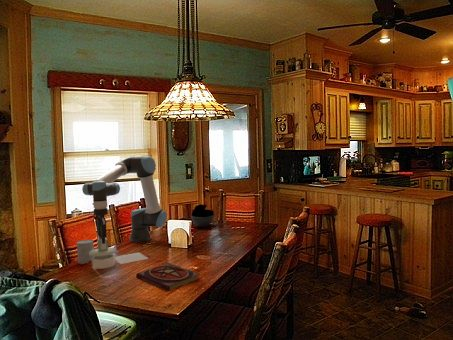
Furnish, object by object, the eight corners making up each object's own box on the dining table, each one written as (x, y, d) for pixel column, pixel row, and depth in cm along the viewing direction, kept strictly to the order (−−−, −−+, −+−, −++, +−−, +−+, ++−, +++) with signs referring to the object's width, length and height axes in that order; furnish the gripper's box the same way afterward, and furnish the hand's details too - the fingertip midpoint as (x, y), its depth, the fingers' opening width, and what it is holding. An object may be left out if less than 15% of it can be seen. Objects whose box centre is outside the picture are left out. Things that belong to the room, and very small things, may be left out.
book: (136, 279, 195) (135, 270, 194) (169, 268, 209) (168, 259, 209) (167, 293, 174) (166, 283, 174) (201, 279, 189) (201, 270, 188)
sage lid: (112, 247, 224) (111, 234, 223) (119, 253, 211) (118, 239, 211) (86, 252, 216) (85, 238, 215) (92, 258, 203) (91, 243, 203)
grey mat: (139, 253, 238) (139, 252, 238) (148, 260, 224) (148, 258, 224) (112, 258, 229) (112, 257, 229) (120, 265, 215) (120, 264, 215)
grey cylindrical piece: (97, 259, 229) (96, 239, 229) (88, 264, 220) (86, 243, 219) (84, 258, 232) (83, 239, 231) (74, 263, 223) (73, 243, 222)
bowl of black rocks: (205, 223, 327) (205, 202, 326) (219, 226, 312) (219, 204, 311) (186, 227, 315) (186, 205, 313) (200, 230, 299) (199, 207, 298)
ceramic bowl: (111, 262, 222) (110, 252, 222) (117, 267, 212) (116, 257, 212) (90, 266, 216) (90, 256, 216) (95, 271, 206) (95, 261, 205)
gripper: (90, 207, 217) (92, 246, 218) (97, 210, 203) (99, 252, 205) (103, 205, 221) (105, 244, 222) (110, 209, 207) (113, 250, 209)
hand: (102, 248), depth 213 cm, fingers closed on sage lid, 3 cm apart
